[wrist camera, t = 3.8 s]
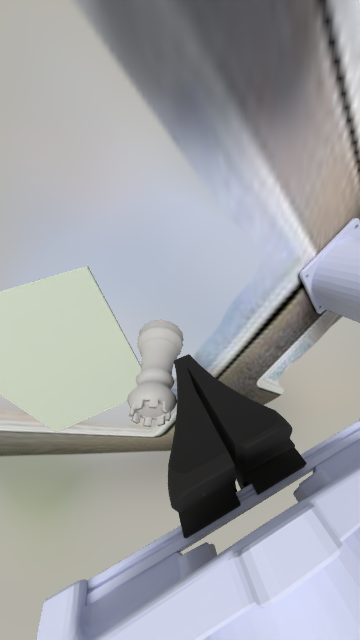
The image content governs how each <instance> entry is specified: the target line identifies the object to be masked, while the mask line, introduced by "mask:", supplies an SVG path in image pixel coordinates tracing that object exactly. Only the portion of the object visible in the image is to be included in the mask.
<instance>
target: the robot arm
mask: <svg viewBox="0 0 360 640" xmlns="http://www.w3.org/2000/svg"><path fill="white" fill-rule="evenodd" d="M299 276H300V278H301V281H302V283H303V285H304V287H305V289H306V291H307V293H308V295H309V297H310V299H311V302H312V304H313V306H314V308H315V310H316V312H317V313H319V314H321V313H322V312H323V311H324V310H329V311H331V312H334V313H336V314H339V315H341V316H344V317H346V318H349V319H352V320H354V321H357V322H359V323H360V221H359V219H358V218H354V219H352V220H351V221H350V222H349V223H348V224H347V225H346V226H345V227H344V228H343V229H342V230H341V231H340V232H339V233H338V234H337V235H336V236H335V237H334V238H333V239H332V240H331V241H330V242H329V243H328V244H327V245H326V246H325V247H324V248H323V250H322V251H321V252H320V253H319V254H318V255H317V256H316V257H315V258H314V259H313V260H312V261H311V262H310V263H309V264H308V265H307V266H306V267H305V268H304V269H303V270H302V271H301V272H300V275H299ZM174 364H175V368H176V375H177V395H178V397H177V415H176V425H175V432H174V438H173V444H172V449H171V454H170V459H169V465H168V490H169V497H170V502H171V506H172V508H173V509H175V510H176V511H177V512H178V513H179V518H180V522H181V526H179V527H177V528H176V529H174V530H172V531H170V532H169V533H167V534H165V535H164V536H162V537H160V538H159V539H157V540H155V541H154V542H152V543H150V544H148V545H147V546H145V547H143V548H142V549H140V550H138V551H137V552H135V553H133V554H132V555H130V556H128V557H126V558H125V559H123V560H121V561H120V562H118V563H116V564H114V565H113V566H111V567H109V568H108V569H106V570H105V571H103V572H101V573H99V574H98V575H96V576H94V577H92V578H91V579H89V580H80V581H78V582H75V583H73V584H71V585H69V586H68V587H66V588H64V589H63V590H61V591H59V592H57V593H56V594H54V595H52V596H50V597H49V598H47V599H46V600H45V602H44V605H43V609H42V614H41V619H40V624H39V629H38V634H37V639H36V640H360V420H359V421H357V422H355V423H354V424H352V425H350V426H349V427H347V428H345V429H343V430H342V431H340V432H338V433H337V434H335V435H333V436H332V437H330V438H328V439H327V440H325V441H323V442H321V443H320V444H318V445H316V446H315V447H313V448H311V449H310V450H308V451H306V452H304V453H303V454H301V455H300V454H299V453H298V451H297V450H296V449H295V448H294V447H295V445H294V443H293V442H292V441H291V440H290V435H291V433H292V427H291V425H290V424H289V423H288V422H287V421H286V420H285V419H284V418H283V417H282V416H281V415H280V414H279V413H277V412H276V411H275V410H273V409H271V408H268V407H266V406H264V405H261V404H259V403H257V402H255V401H253V400H251V399H249V398H247V397H245V396H243V395H241V394H240V393H238V392H236V391H234V390H233V389H231V388H229V387H228V386H226V385H225V384H223V383H222V382H220V381H219V380H217V379H216V378H215V377H213V376H212V375H211V374H210V373H208V372H207V371H206V370H205V369H204V368H202V367H201V366H200V365H199V364H198V363H197V362H196V361H195V360H194V359H193V358H192V357H191V356H190V355H186V356H184V357H181V358H179V359H176V360H175V361H174ZM311 471H313V474H312V475H311V476H309V477H308V478H307V479H306V480H304V481H303V482H302V483H300V484H299V487H298V488H297V490H295V491H294V496H295V497H296V499H297V500H298V503H297V504H296V505H294V506H292V507H290V508H289V509H287V510H286V511H284V512H282V513H281V514H279V515H278V516H276V517H275V518H273V519H271V520H270V521H268V522H267V523H265V524H264V525H262V526H261V527H259V528H258V529H256V530H254V531H253V532H251V533H250V534H248V535H247V536H245V537H244V538H243V539H241V540H239V541H238V542H236V543H235V544H233V545H232V546H230V547H229V548H228V549H226V550H225V551H223V552H222V553H220V554H219V555H217V553H216V549H215V546H214V545H213V544H208V543H207V542H206V543H204V544H202V545H200V546H198V547H196V548H195V549H193V550H191V551H189V552H187V553H186V554H184V555H183V554H182V553H180V552H181V551H183V550H184V549H186V548H188V547H189V546H191V545H192V544H194V543H196V542H197V541H199V540H201V539H202V538H204V537H205V536H207V535H209V534H210V533H212V532H214V531H215V530H217V529H218V528H220V527H222V526H223V525H225V524H227V523H228V522H230V521H231V520H233V519H235V518H236V517H238V516H240V515H241V514H243V513H244V512H246V511H248V510H249V509H251V508H253V507H254V506H256V505H257V504H259V503H261V502H262V501H264V500H266V499H267V498H269V497H270V496H272V495H274V494H275V493H277V492H278V491H280V490H282V489H283V488H285V487H286V486H288V485H290V484H291V483H293V482H295V481H296V480H298V479H300V478H301V477H303V476H304V475H306V474H308V473H309V472H311ZM236 479H237V481H238V484H239V486H240V488H241V490H240V491H239V492H237V489H236V485H235V481H236ZM236 492H237V493H236Z"/></svg>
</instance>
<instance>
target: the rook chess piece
mask: <svg viewBox="0 0 360 640" xmlns="http://www.w3.org/2000/svg"><path fill="white" fill-rule="evenodd" d="M182 341H183V334H182V332H181V330H180V329H179V328H178V326H176V325H175V324H173V323H171V322H169V321H164V320H155V321H151V322H149V323H147V324H145V325H144V326H143V327H142V329H141V330H140V333H139V337H138V348H139V351H140V354H141V356H142V366H141V372H140V373H139V374H138V375H137V376H136V383H137V385H138V386H137V387H136V388H135V389H134V390H132V391H131V392H130V393H129V394H128V398H127V402H128V404H129V406H130V408H131V410H130V414H129V416H133V417H132V421H133V422H135V423H136V424H137V423H139V422H140V418H141V417H142V418H145V420H144V426H148V427H151V423H152V419H157V425H158V426H161V425H164V424H165V420H167V421H169V420H170V418H171V411H172V410H173V409H174V408H175V406H176V403H177V399H176V396H175V395H174V394H173V392H172V391H171V388H172V387H173V384H174V379H173V377H172V368H173V363H174V360H175V359H176V358H177V356H178V355H179V354H180V352H181V349H182V346H183V344H182Z"/></svg>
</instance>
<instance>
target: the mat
mask: <svg viewBox="0 0 360 640" xmlns="http://www.w3.org/2000/svg"><path fill="white" fill-rule="evenodd" d="M140 372H141V365H140V363H139V361H138V360H137V358H136V356H135V354H134V352H133V350H132V348H131V346H130V344H129V343H128V341H127V339H126V337H125V335H124V333H123V331H122V329H121V328H120V326H119V324H118V322H117V320H116V318H115V317H114V314H113V312H112V311H111V309H110V307H109V305H108V303H107V301H106V299H105V298H104V296H103V294H102V292H101V290H100V288H99V286H98V284H97V283H96V281H95V279H94V277H93V275H92V273H91V271H90V269H89V267H88V266H85V267H82V268H79V269H75V270H72V271H69V272H65V273H62V274H58V275H55V276H52V277H48V278H45V279H42V280H38V281H34V282H31V283H27V284H24V285H21V286H17V287H14V288H11V289H7V290H4V291H0V395H1V396H3V397H4V398H6V399H7V400H9V401H10V402H12V403H13V404H14V405H16V406H18V407H19V408H20V409H22V410H23V411H25V412H26V413H28V414H29V415H31V416H32V417H34V418H35V419H37V420H38V421H40V422H41V423H43V424H44V425H46V426H47V427H49V428H50V429H52V430H53V431H55V432H58V431H60V430H63V429H65V428H67V427H69V426H72V425H74V424H76V423H79V422H81V421H83V420H86V419H88V418H90V417H92V416H95V415H97V414H99V413H101V412H104V411H106V410H109V409H111V408H113V407H115V406H118V405H120V404H122V403H125V402H127V398H128V394H129V393H130V392H131V391H132V390H134V389H135V388H136V387H137V386H138V385H137V383H136V376H137V375H138V374H139V373H140Z"/></svg>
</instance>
